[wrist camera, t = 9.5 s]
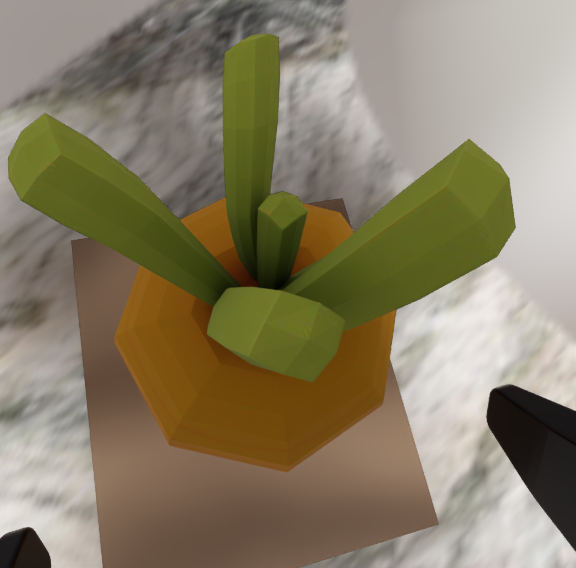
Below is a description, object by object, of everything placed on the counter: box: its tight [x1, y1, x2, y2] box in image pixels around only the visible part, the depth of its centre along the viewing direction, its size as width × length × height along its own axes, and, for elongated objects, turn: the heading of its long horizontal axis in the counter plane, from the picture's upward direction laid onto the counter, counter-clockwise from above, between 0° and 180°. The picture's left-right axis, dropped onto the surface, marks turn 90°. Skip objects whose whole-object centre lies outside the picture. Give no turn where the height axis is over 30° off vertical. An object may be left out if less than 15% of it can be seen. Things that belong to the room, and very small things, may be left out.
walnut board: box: [71, 198, 439, 568], centre depth 18 cm, size 14×12×1 cm
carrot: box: [8, 34, 516, 472], centre depth 10 cm, size 5×5×15 cm
